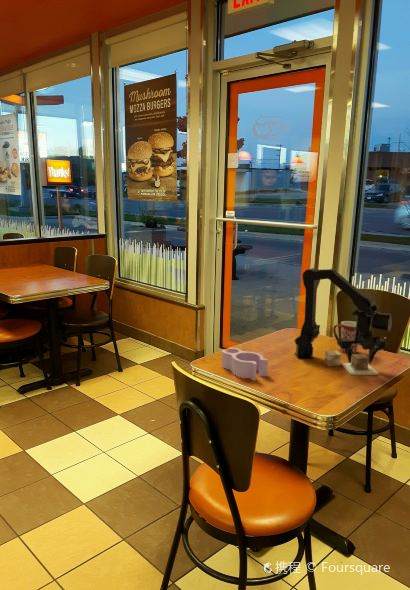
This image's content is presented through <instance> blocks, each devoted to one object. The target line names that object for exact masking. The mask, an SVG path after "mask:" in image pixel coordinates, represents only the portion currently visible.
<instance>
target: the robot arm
mask: <svg viewBox="0 0 410 590" xmlns="http://www.w3.org/2000/svg"><path fill="white" fill-rule="evenodd" d="M321 280H329V281H330V282H331V283H332V284H334V285H335V286H336V287H337V288H338V289H340V290H341V291H342V292H343V293H344V294H346V296H348V297H349V299H350V300H351V301H352V303H353V304H354V306H355V307H356V309H355V310H354V311H353V312H351V315H352V316H356V321H355V322H356V327H355V330H356V331H355V336H354V340H355V341H350V340H349V339H348V338H341V337H338V338H339V339H338V340H336V341H337V343H336V345H338V347H339V348H340V347H341V348H344V350H345V352H346V353H345V354H346V357H347V361H348V363H351V361H352V354H351V352H352V350H353V349H352V348H351V347H352V345H357V346H361V347H362V350H365V351H366V350H368V358H369V362H368V364H371V363H372V361H373V359H374V358H375V356H376V354H377V352H379V351H382V350H383V349H387V342H386V340H384V339H383V338H381V337H380V336H373V335H372V334H373V330H371V327H372V328H373V329H374V330H379V331H380V330H381V331H385V332H391V330H392V324H393V321H392V314H391V313H382V312H380V311H379V308H378V307H377V304H376V300H375V298H374V297H373V296H371V295H370V294H368V293H366V292H365V291H361V290H360V289H358V288H356V286H354V285H353V284H352V283H350V281H349V280H347V279H346V278H345V277H344V276H342V275H341V274H340V273H339V272H338V271H337V269H335V268H330V269H328V268H327V269H319V268H317V267H313V268H309V269H306V270H305V271H304V272H302V283H303V286H304V289H305V299H304V300H305V301H304V304H305V305H304V321H303V324H302V327H301V329H300V334H299V336H298V337H296V338H295V339H294V343H295V346H296V350H295V352H294V355H295V356H296V358H297V359H308V360H309V359H313V355H314V354H313V352H314V347H313V343H314V340H316V339H317V338H318V337H319V335H320V334H321V332H320V328H321V325H320V324H318V323H317V322H316V314H317V294H318V292H317V290H318V288H319V285H320V283H321Z"/></svg>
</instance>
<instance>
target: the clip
mask: <svg viewBox="0 0 410 590" xmlns="http://www.w3.org/2000/svg"><path fill="white" fill-rule="evenodd" d="M268 362H269V359H268V358H265V357H264V355H262V354H260V353H258V352H253V351H244V350H242V349H240V348H238V347H237V348H236V347H228V352H227V351H226V349H222V350H221V368H222V367H223V368H222V369H224V368H226V369H225V370H228V369H229V370H228V371H230V372H231V373H233V374H234V375H233V374H232V375H233V376H235V375H236V376H235V377H237V376H238V377H237V378H240V377H241V378H240V379H245V378H250V380H252V381H257V372H258V376H259V377H260V376H261V377H268Z"/></svg>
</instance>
